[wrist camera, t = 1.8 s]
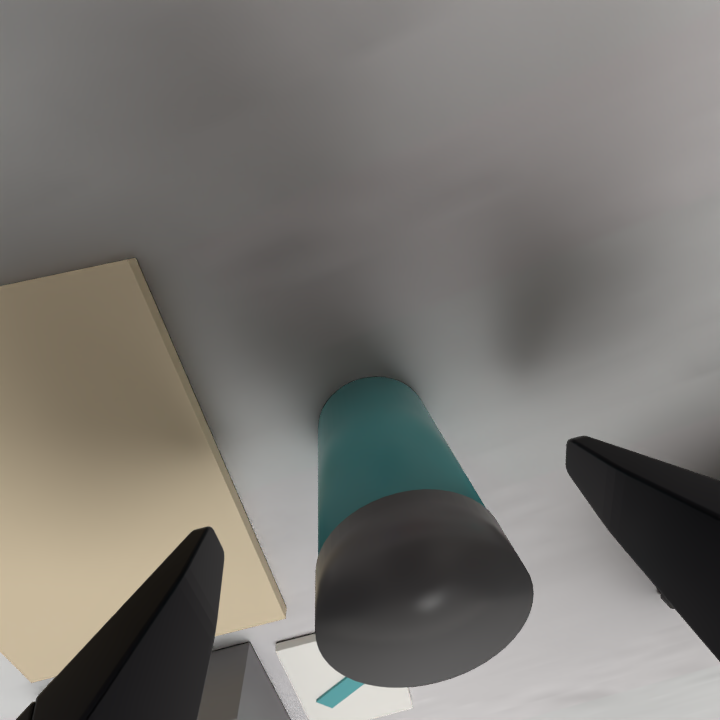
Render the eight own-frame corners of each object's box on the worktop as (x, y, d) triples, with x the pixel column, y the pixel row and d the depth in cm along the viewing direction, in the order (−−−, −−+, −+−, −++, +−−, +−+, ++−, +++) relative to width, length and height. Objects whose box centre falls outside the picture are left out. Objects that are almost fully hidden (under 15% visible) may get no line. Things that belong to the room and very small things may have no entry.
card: (389, 614, 15) (391, 624, 14) (411, 700, 17) (413, 710, 17) (276, 643, 15) (275, 654, 14) (315, 725, 17) (315, 736, 17)
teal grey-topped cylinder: (420, 363, 11) (533, 512, 5) (433, 458, 12) (533, 657, 6) (303, 390, 10) (287, 573, 5) (330, 482, 12) (342, 707, 6)
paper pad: (135, 257, 9) (127, 259, 8) (286, 608, 14) (285, 618, 13) (-275, 344, 8) (-303, 350, 8) (39, 670, 13) (31, 682, 13)
